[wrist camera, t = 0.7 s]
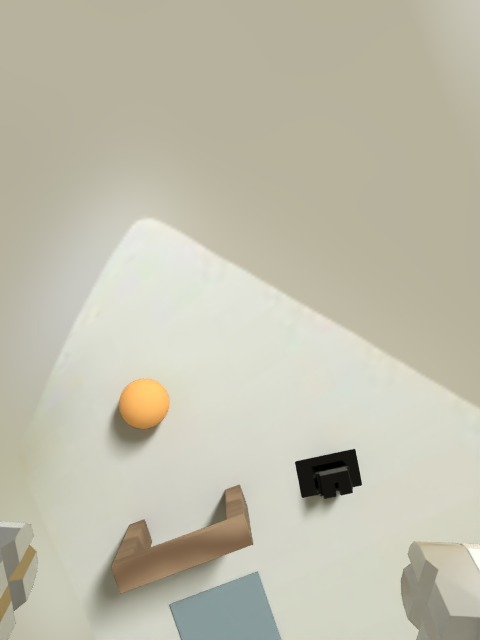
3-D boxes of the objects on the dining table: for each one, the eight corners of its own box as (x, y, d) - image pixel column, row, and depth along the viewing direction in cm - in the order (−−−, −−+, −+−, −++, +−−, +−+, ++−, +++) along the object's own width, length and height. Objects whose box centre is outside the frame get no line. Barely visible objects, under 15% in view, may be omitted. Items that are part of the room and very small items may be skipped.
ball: (178, 413, 56) (173, 424, 50) (133, 428, 56) (123, 441, 50) (162, 369, 56) (156, 375, 50) (118, 384, 56) (106, 392, 50)
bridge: (247, 506, 57) (253, 544, 47) (137, 546, 56) (120, 593, 46) (239, 484, 57) (244, 518, 47) (129, 524, 56) (111, 567, 46)
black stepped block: (286, 507, 58) (292, 523, 53) (276, 453, 58) (281, 464, 53) (377, 488, 58) (390, 502, 54) (367, 434, 58) (379, 444, 54)
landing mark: (287, 657, 57) (287, 658, 57) (200, 691, 57) (200, 692, 56) (257, 571, 57) (257, 572, 57) (170, 604, 56) (169, 605, 56)
